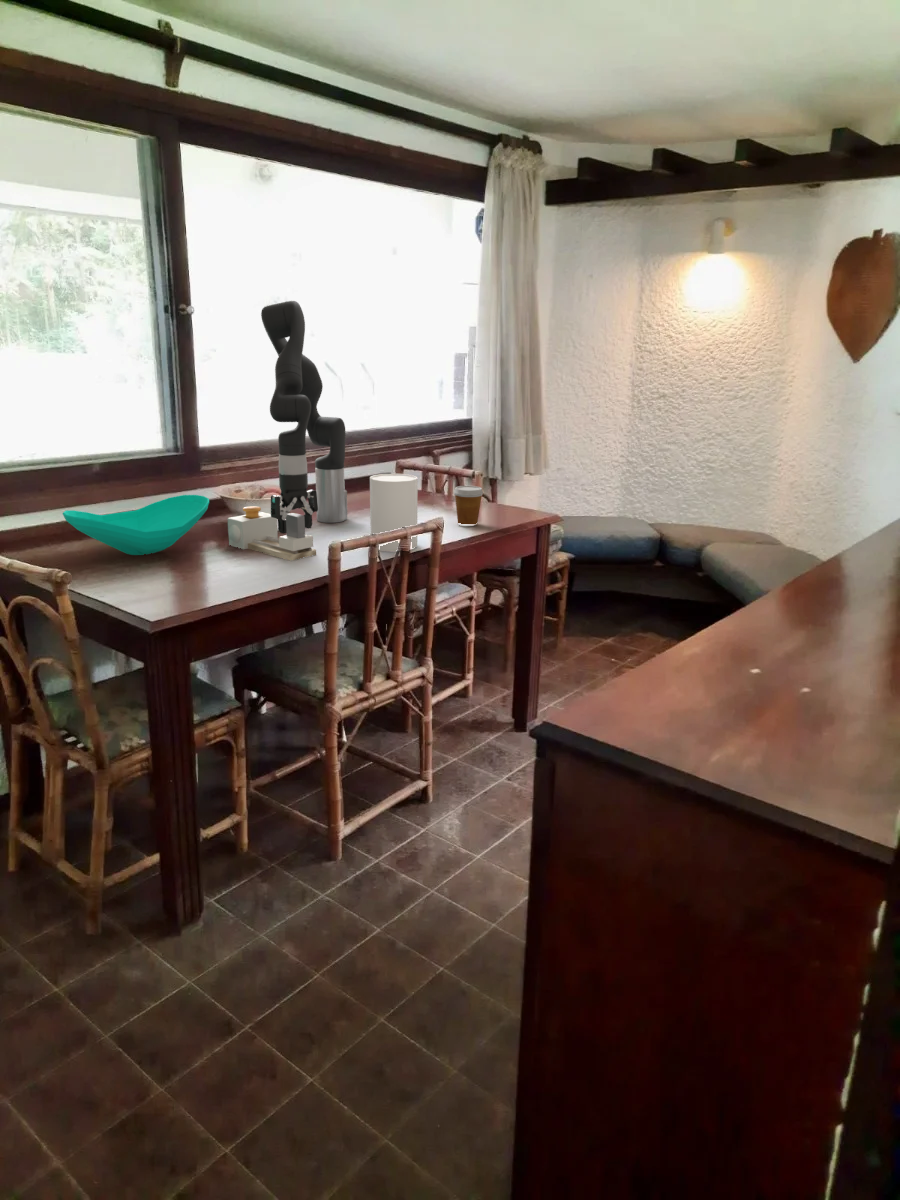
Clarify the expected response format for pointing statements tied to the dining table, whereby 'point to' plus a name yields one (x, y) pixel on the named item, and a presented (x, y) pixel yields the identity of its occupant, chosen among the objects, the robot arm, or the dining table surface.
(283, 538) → the carriage
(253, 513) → the button
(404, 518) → the canister
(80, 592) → the dining table surface
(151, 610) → the dining table surface
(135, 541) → the table top decor
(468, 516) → the disposable coffee cup
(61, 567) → the dining table surface
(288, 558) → the rail track
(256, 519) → the end cabinet
